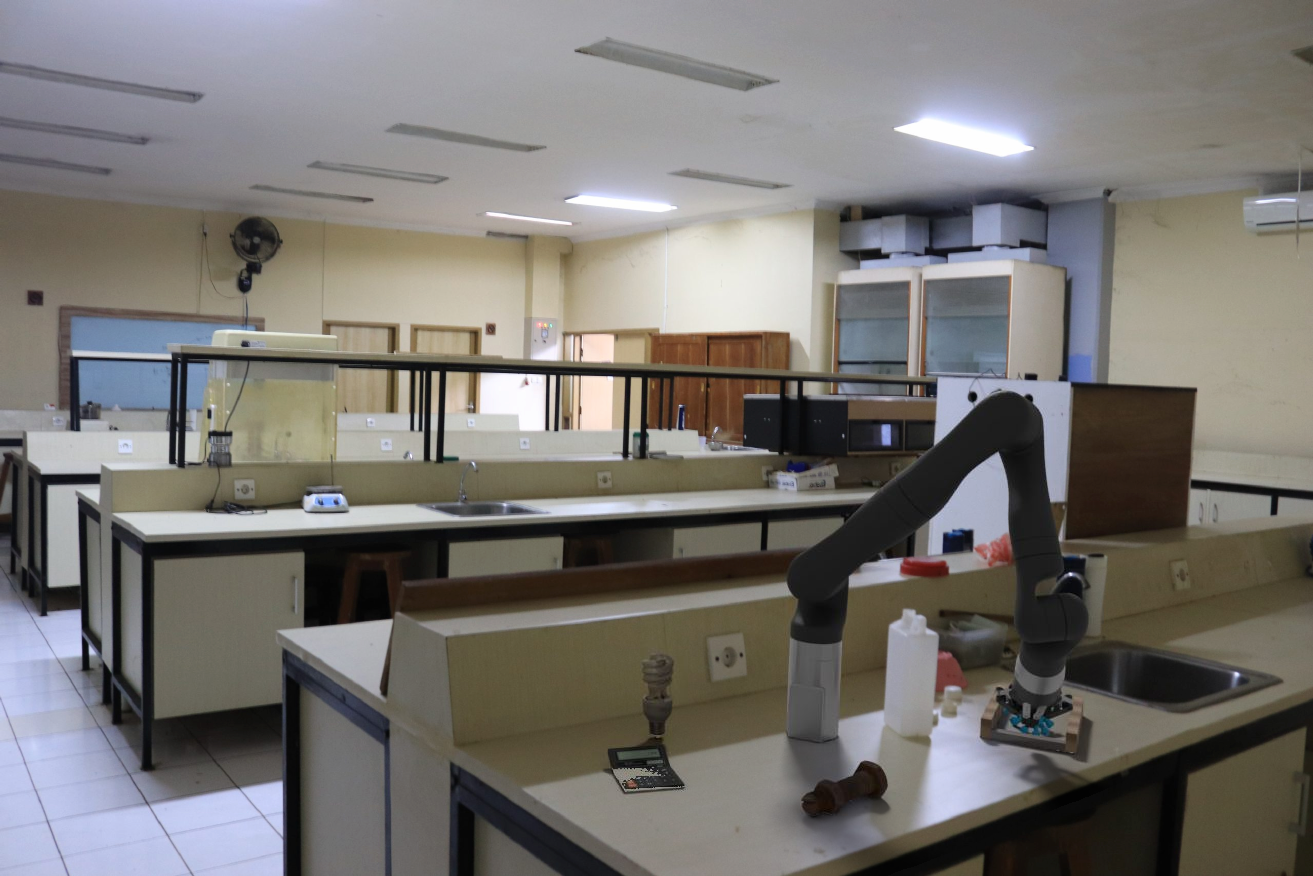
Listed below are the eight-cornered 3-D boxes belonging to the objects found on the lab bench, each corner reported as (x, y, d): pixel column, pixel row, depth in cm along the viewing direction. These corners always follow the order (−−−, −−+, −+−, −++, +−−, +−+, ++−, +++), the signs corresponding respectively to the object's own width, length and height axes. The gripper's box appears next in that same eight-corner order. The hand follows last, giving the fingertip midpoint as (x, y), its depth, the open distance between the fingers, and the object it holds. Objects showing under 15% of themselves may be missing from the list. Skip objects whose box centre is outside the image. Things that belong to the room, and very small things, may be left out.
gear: (1015, 731, 175) (999, 681, 182) (998, 746, 179) (983, 696, 186) (1068, 737, 178) (1050, 687, 184) (1050, 751, 182) (1033, 702, 189)
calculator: (624, 794, 147) (625, 774, 146) (606, 766, 158) (607, 747, 158) (684, 789, 149) (685, 770, 149) (662, 761, 160) (663, 743, 160)
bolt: (803, 829, 140) (869, 801, 150) (827, 823, 137) (893, 795, 146) (789, 788, 142) (855, 763, 152) (812, 781, 139) (878, 756, 148)
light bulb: (658, 745, 166) (661, 658, 166) (633, 738, 170) (635, 652, 169) (677, 737, 171) (680, 652, 170) (652, 729, 174) (655, 646, 174)
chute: (1076, 754, 169) (1077, 734, 169) (979, 737, 176) (980, 718, 176) (1082, 715, 191) (1083, 697, 191) (996, 701, 198) (997, 684, 198)
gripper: (1081, 657, 162) (1068, 708, 174) (996, 649, 165) (989, 699, 177) (1084, 698, 157) (1070, 748, 169) (996, 688, 160) (989, 737, 173)
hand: (1028, 723), depth 173 cm, fingers closed
